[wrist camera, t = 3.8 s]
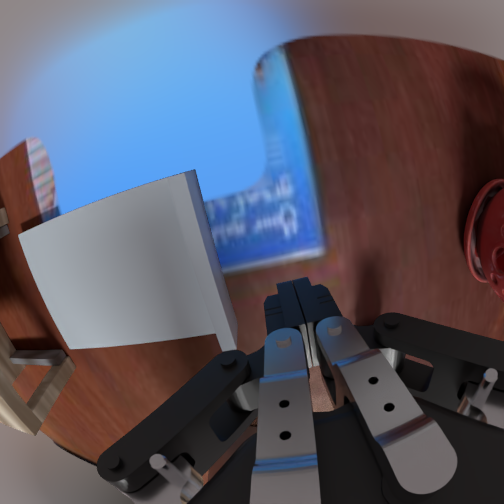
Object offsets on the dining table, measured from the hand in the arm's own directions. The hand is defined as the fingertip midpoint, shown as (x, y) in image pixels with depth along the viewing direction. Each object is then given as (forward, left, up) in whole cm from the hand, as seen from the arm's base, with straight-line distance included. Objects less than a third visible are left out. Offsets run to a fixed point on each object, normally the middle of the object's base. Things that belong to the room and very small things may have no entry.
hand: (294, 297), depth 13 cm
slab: (+10, +11, -10) cm, 18 cm away
